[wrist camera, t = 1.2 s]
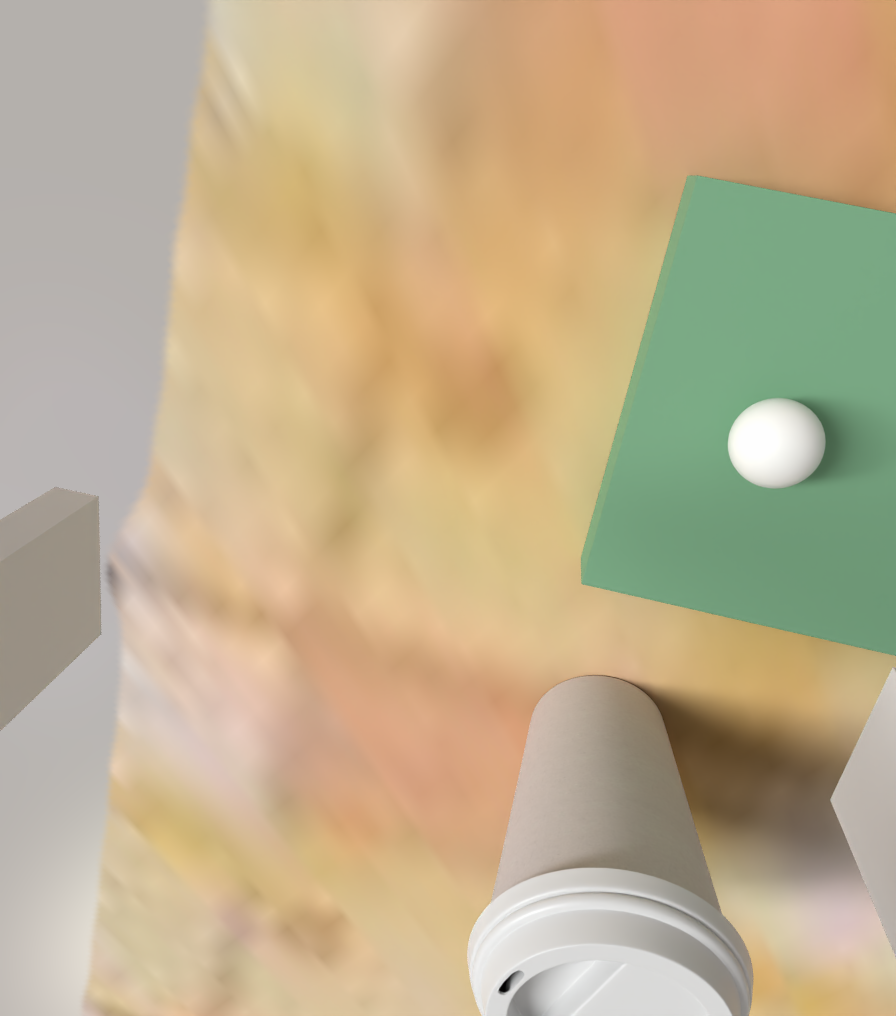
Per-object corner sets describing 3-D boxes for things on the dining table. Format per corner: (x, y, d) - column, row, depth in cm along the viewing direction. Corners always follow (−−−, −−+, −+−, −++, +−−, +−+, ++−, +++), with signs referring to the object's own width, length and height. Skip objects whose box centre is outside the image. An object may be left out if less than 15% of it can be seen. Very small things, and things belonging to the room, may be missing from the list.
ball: (736, 379, 29) (755, 402, 26) (824, 398, 29) (852, 423, 26) (709, 460, 30) (724, 490, 27) (793, 478, 30) (817, 511, 27)
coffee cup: (621, 612, 36) (650, 879, 22) (736, 754, 38) (827, 1079, 24) (461, 706, 39) (400, 989, 26) (574, 832, 41) (574, 1157, 28)
